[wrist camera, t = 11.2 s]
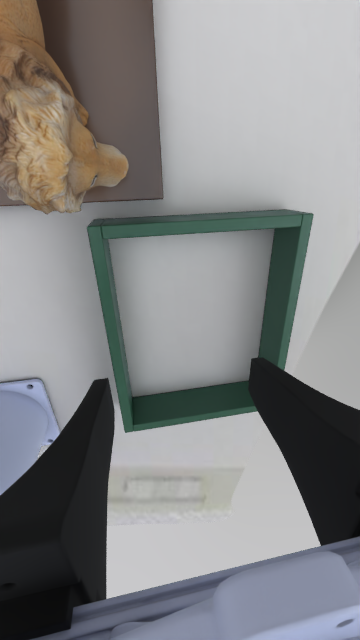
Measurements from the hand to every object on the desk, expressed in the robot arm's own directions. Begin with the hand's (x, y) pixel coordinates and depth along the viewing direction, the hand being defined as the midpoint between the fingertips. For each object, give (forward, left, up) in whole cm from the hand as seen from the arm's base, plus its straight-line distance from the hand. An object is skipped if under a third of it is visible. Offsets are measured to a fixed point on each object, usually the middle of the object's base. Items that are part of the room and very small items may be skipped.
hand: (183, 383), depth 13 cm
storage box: (+3, -2, -10) cm, 11 cm away
